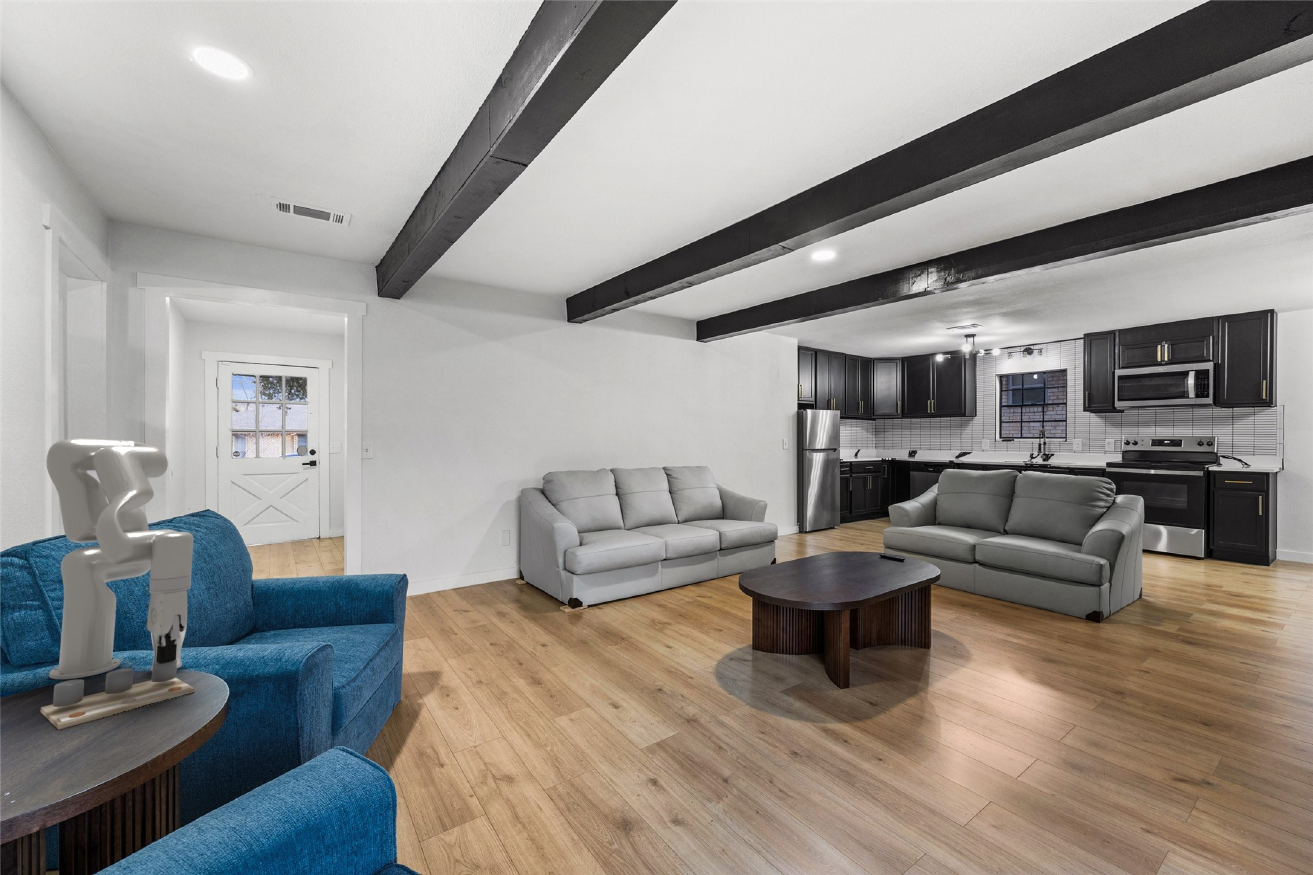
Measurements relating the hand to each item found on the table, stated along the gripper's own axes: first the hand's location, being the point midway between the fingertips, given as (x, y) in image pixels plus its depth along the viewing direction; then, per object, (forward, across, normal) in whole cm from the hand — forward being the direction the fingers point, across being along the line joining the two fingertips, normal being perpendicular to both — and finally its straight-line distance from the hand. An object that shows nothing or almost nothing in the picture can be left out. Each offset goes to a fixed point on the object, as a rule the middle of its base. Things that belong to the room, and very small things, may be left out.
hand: (166, 661), depth 131 cm
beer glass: (+6, -15, +5) cm, 17 cm away
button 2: (+4, 0, 0) cm, 4 cm away
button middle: (+4, 0, -8) cm, 9 cm away
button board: (+6, +2, -8) cm, 10 cm away
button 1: (+4, 0, -16) cm, 17 cm away
